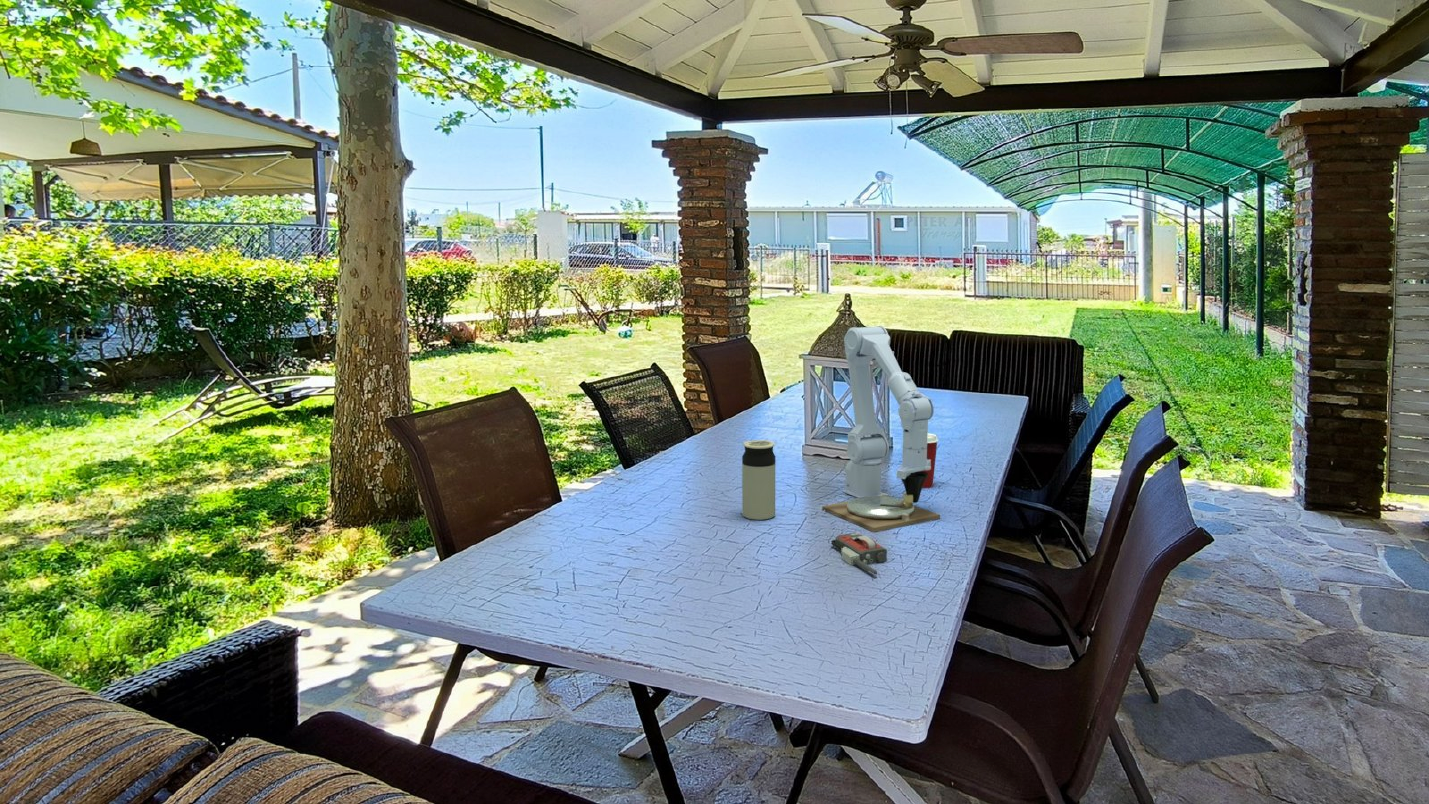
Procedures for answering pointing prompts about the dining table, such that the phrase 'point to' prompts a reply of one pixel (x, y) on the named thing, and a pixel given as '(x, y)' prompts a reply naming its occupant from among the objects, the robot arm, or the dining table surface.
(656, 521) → the dining table surface
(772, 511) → the travel mug
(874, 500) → the capstan dial
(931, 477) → the paper cup
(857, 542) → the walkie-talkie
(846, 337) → the robot arm
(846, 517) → the dial base
